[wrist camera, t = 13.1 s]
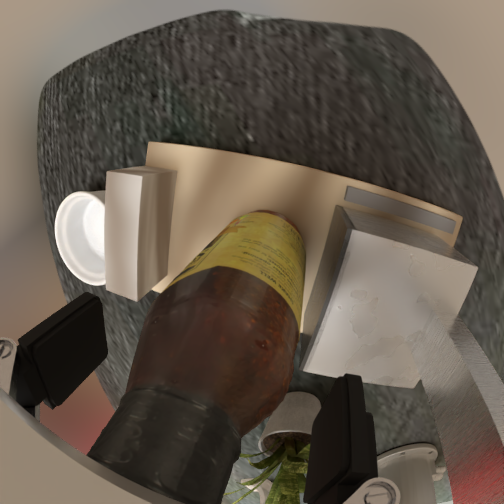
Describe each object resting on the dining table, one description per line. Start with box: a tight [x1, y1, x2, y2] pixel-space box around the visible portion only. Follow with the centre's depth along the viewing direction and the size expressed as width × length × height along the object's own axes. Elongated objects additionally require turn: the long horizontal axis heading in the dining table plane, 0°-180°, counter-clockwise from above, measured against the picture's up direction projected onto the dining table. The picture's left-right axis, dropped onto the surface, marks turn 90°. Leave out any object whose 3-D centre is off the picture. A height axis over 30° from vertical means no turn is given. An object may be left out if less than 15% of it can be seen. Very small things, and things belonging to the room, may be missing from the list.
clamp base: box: [104, 142, 463, 333], centre depth 20 cm, size 26×13×7 cm, turn 80°
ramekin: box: [55, 191, 106, 285], centre depth 24 cm, size 9×9×4 cm
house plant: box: [224, 392, 321, 504], centre depth 21 cm, size 14×14×16 cm
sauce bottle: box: [86, 210, 306, 504], centre depth 12 cm, size 7×6×20 cm
